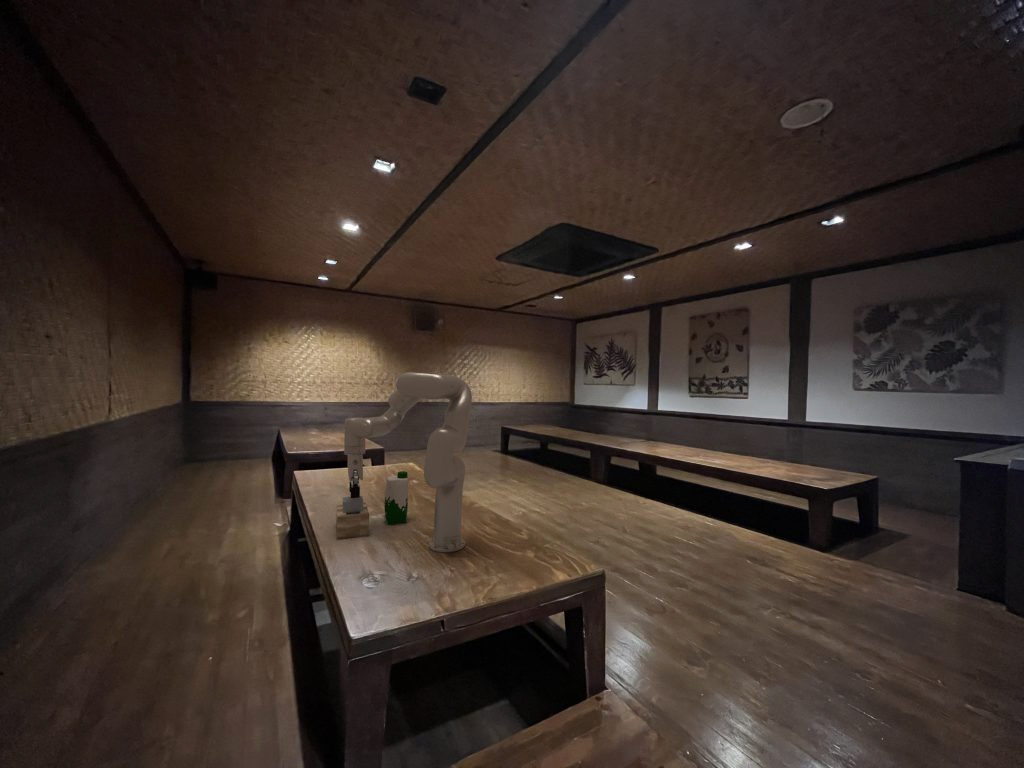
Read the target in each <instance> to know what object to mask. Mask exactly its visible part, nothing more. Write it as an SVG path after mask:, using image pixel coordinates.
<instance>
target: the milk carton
mask: <svg viewBox="0 0 1024 768" xmlns="http://www.w3.org/2000/svg"><path fill="white" fill-rule="evenodd" d="M408 473H409V472H408V471H405V470H404V471H398V472H397V473H396V474H397V475H392V476H391V475H390V476H385V486H384V488H385V489H384V514H385V521H386V524H387V525H388V526H390V525H399V524H406V523H407V516H408V507H409V505H408V503H409V477H408Z"/></svg>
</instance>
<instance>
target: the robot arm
mask: <svg viewBox="0 0 1024 768" xmlns="http://www.w3.org/2000/svg"><path fill="white" fill-rule="evenodd" d="M395 384H396V387H395V388H396V390H394V392H392V393H391V394H390V395H389V397H388V399H387V401H388V405H389V406H390V407H389V409H387V410H386V411H385V412H384V413H383V414H382V415H380V416H374V417H373V416H372V417H364V418H363V417H348V418H346V419H345V420H344V439H343V441H344V443H343V444H344V445H343V446H344V451H343V455H346V456H347V473H348V480H349V485H348V486H349V488H348V489H349V493H350V497H351V498H359V497H360V496H361V487H360V481H364V457H363V455H365V454H366V439H371V438H377V437H383V436H386V435H387V434H389V433H390V432H392V431H393V430H394V429H396V428H397V427H398V426H399V425H400V424H401V423H402V421H403V420H404V418H405V416H406V413H407V412H408V411H409V410H411V408H413V407H414V406H415V405H416V404H418V402H420V401H421V400H422V399H427V400H428V399H429V400H448V401H449V402H448V405H447V407H446V410H445V415H444V416H445V417H444V422H443V426H442V427H438V428H436V429H434V430H433V431H432V433H431V434H430V436H429V438H428V441H427V446H426V451H425V459H424V466H423V477H424V481H425V482H426V483H425V484H427V485H428V487H430V488H432V489H435V496H434V514H433V515H434V521H433V539H432V538H431V540H430V541H429V542H428V547H429V548H430V549H431V550H432V551H434V552H438V553H453V552H457V551H461V550H462V549H464V548H465V547H466V540H465V539H464V538H462V519H463V516H462V514H463V513H462V512H463V493H464V491H463V490H464V483H465V477H466V466H465V462H464V461H463V459H462V458H461V457H459V455H454V454H456V453H458V452H460V451H462V450H463V449H464V448H465V446H466V443H467V438H468V433H469V432H468V431H469V423H470V416H471V415H470V414H471V411H472V410H471V409H472V405H473V404H472V401H473V396H472V391H471V389H470V386H469V385H468V383H467V382H466V381H465V380H463V379H462V378H460V377H458V376H456V375H450V374H449V375H448V374H436V373H421V372H415V371H414V372H413V371H412V372H411V371H407V372H404V373H402V374H400V375H399V377H398V378H397V380H396V383H395Z"/></svg>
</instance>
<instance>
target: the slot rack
mask: <svg viewBox="0 0 1024 768" xmlns="http://www.w3.org/2000/svg"><path fill="white" fill-rule="evenodd" d="M342 507H343V503H342V504H336V518H335V519H336V520H335V521H336V522H335V527H336V528H335V529H336V531H335V532H336V533H335V535H336V540H338V541H339V540H346V539H354V538H362V537H370V536H369V533H370V512H369V509H368V505H367V502H363V511H360V512H358V514H349V515H347V513H343V508H342Z"/></svg>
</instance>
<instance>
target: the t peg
mask: <svg viewBox="0 0 1024 768" xmlns="http://www.w3.org/2000/svg"><path fill="white" fill-rule="evenodd" d="M363 503H364V498H363V495H360V497H359V498H351V496H346V497H344V496H343V497H342V504H343V507H342V508H343V513H347V515H349V514H358V512H360V511H363Z"/></svg>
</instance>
